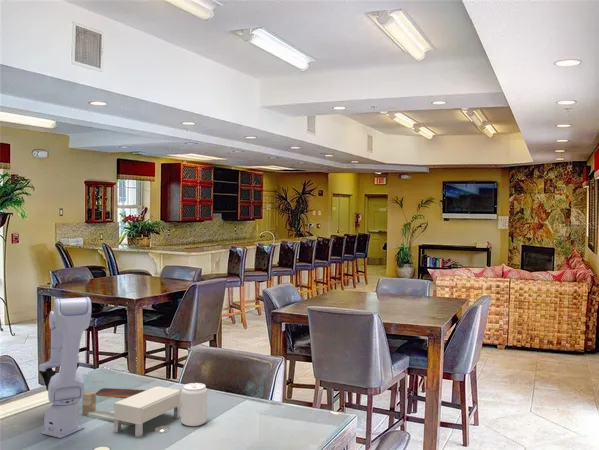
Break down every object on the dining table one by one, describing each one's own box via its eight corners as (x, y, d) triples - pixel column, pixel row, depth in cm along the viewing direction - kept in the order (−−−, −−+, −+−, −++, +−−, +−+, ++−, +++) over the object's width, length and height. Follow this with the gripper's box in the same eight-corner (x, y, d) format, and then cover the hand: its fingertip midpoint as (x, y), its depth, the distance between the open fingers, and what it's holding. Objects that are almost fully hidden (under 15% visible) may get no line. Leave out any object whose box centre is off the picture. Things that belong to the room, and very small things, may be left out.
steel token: (159, 435, 170) (159, 432, 170) (152, 431, 173) (152, 428, 173) (172, 431, 173) (172, 429, 173) (164, 427, 176) (164, 424, 176)
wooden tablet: (89, 392, 206) (104, 382, 216) (90, 398, 207) (104, 387, 216) (155, 399, 201) (167, 388, 211) (155, 405, 201) (167, 393, 211)
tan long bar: (129, 426, 176) (129, 404, 176) (81, 415, 185) (81, 394, 185) (138, 422, 180) (138, 400, 180) (90, 411, 189) (90, 391, 189)
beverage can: (182, 428, 175) (182, 390, 175) (180, 419, 183) (181, 383, 183) (207, 426, 177) (208, 388, 177) (205, 417, 185) (205, 381, 185)
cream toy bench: (140, 438, 167) (140, 408, 167) (113, 431, 171) (114, 402, 171) (181, 417, 185) (181, 390, 185) (156, 412, 189) (157, 386, 189)
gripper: (68, 341, 192) (68, 380, 192) (32, 349, 179) (32, 391, 179) (83, 343, 189) (83, 383, 189) (48, 352, 176) (47, 395, 176)
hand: (59, 387), depth 184 cm, fingers open, 7 cm apart
